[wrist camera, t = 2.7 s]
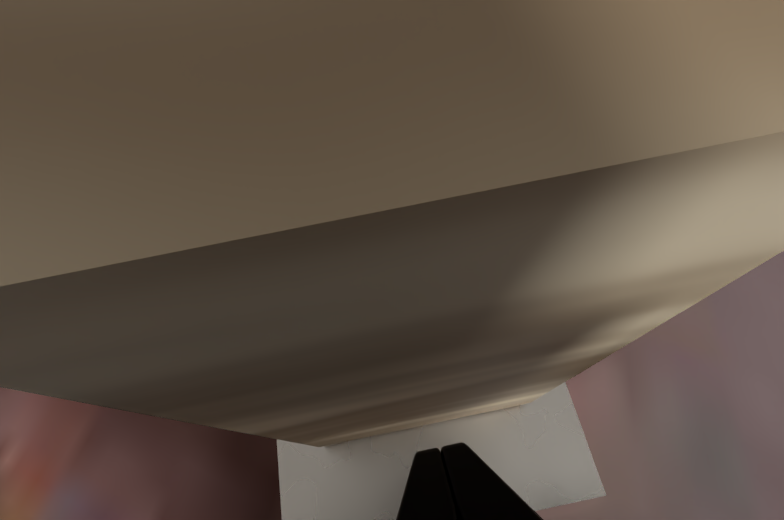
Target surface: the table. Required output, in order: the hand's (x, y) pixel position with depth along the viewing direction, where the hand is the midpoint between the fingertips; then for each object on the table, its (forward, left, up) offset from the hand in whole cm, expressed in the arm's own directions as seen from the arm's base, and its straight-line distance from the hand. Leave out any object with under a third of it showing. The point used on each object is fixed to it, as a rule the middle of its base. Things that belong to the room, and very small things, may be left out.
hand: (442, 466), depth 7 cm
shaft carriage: (+5, 0, -7) cm, 9 cm away
